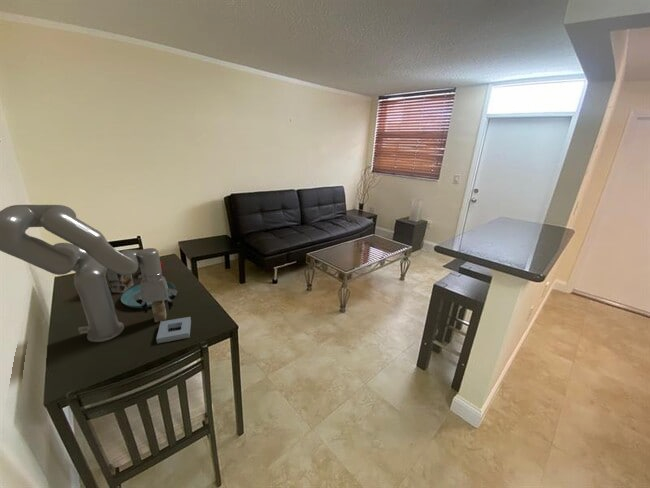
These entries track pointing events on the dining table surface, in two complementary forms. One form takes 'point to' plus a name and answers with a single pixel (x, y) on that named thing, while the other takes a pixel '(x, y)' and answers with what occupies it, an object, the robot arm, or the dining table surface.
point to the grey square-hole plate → (174, 335)
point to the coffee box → (119, 281)
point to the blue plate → (129, 301)
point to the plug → (159, 311)
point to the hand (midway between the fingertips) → (158, 309)
